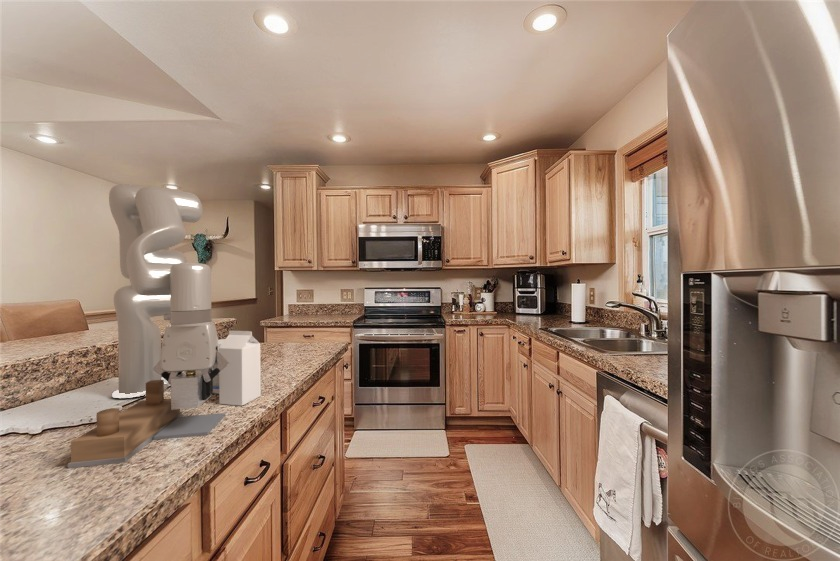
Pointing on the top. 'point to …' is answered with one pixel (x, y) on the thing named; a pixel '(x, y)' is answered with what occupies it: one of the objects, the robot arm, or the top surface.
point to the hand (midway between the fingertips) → (192, 398)
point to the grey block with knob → (187, 390)
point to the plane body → (124, 430)
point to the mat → (190, 426)
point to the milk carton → (240, 369)
